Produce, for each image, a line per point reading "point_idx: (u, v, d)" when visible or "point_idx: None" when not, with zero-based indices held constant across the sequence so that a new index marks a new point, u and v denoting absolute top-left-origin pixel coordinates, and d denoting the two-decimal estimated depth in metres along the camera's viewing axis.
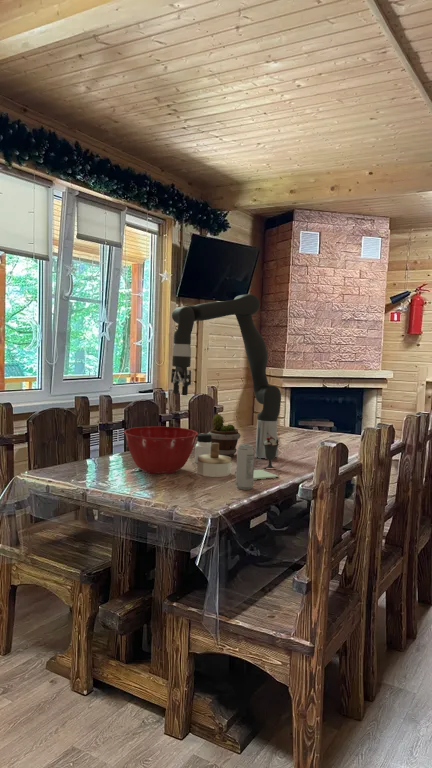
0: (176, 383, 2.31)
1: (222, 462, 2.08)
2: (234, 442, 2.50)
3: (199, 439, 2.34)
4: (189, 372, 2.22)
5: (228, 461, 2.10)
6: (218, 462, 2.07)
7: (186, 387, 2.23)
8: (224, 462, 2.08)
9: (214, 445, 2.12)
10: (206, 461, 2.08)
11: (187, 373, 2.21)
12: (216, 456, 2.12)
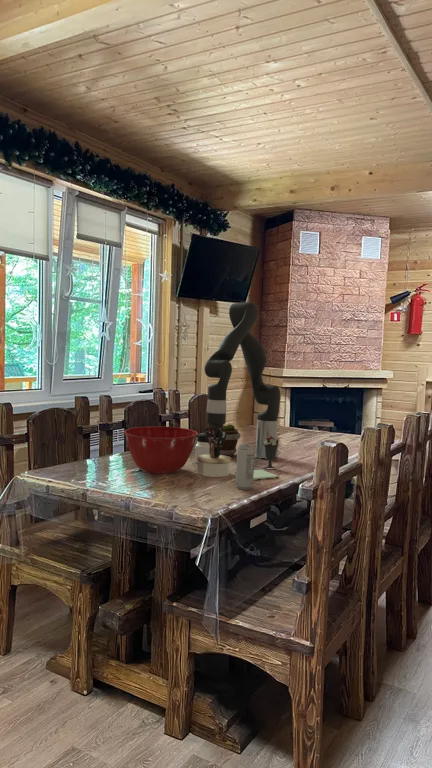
0: None
1: (222, 462, 2.08)
2: (234, 442, 2.50)
3: (199, 439, 2.34)
4: (224, 435, 2.08)
5: (228, 461, 2.10)
6: (218, 462, 2.07)
7: (218, 448, 2.11)
8: (224, 462, 2.08)
9: None
10: (206, 461, 2.08)
11: (222, 436, 2.07)
12: None
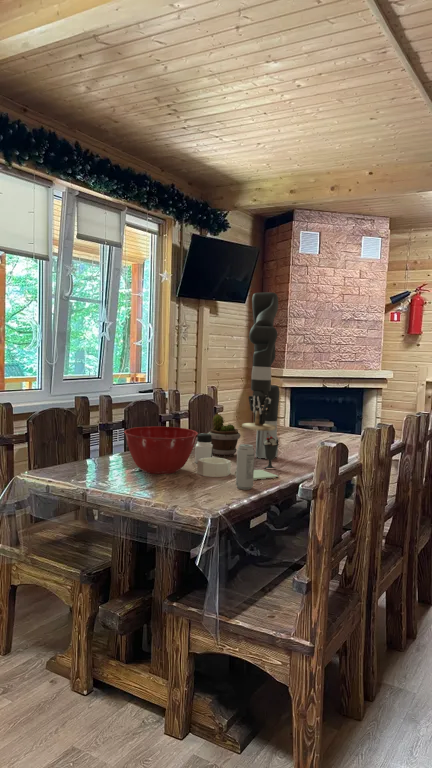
0: None
1: (268, 429, 2.06)
2: (234, 442, 2.50)
3: (199, 439, 2.34)
4: (270, 402, 2.06)
5: (273, 428, 2.08)
6: (264, 429, 2.05)
7: (264, 415, 2.09)
8: (270, 429, 2.07)
9: (259, 412, 2.10)
10: (252, 428, 2.06)
11: (268, 403, 2.06)
12: None
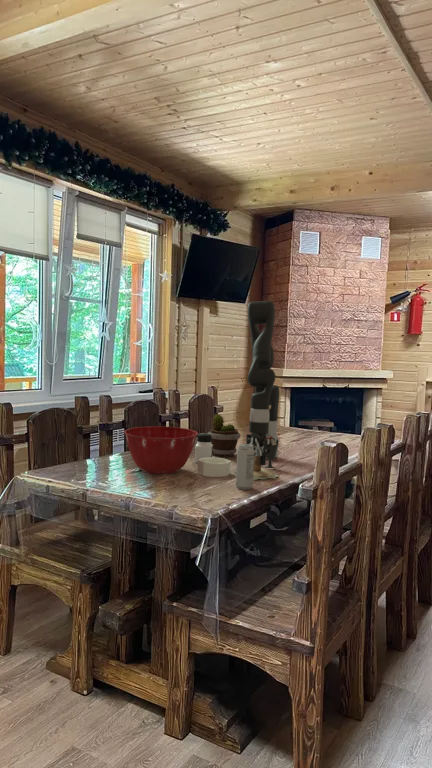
0: None
1: (266, 476, 2.07)
2: (234, 442, 2.50)
3: (199, 439, 2.34)
4: (269, 442, 2.06)
5: (271, 474, 2.09)
6: (262, 476, 2.06)
7: (264, 457, 2.08)
8: (267, 476, 2.08)
9: (257, 458, 2.11)
10: None
11: (267, 443, 2.06)
12: (259, 469, 2.11)
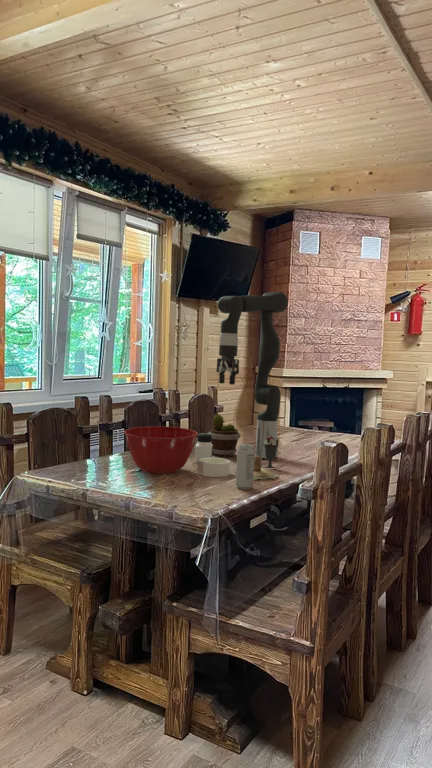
0: (222, 373, 2.31)
1: (266, 476, 2.07)
2: (234, 442, 2.50)
3: (199, 439, 2.34)
4: (237, 361, 2.22)
5: (271, 474, 2.09)
6: (262, 476, 2.06)
7: (234, 376, 2.23)
8: (267, 476, 2.08)
9: (257, 458, 2.11)
10: None
11: (235, 362, 2.21)
12: (259, 469, 2.11)
